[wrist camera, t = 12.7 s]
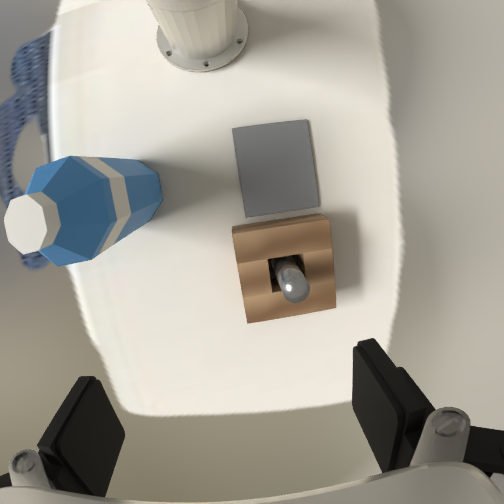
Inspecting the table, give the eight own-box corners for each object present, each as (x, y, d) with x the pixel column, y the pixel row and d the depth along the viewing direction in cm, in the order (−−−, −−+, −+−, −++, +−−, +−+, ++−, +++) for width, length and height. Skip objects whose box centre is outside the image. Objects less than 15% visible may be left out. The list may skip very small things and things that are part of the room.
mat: (232, 129, 40) (232, 128, 40) (306, 119, 41) (306, 119, 40) (245, 217, 43) (245, 217, 43) (318, 206, 44) (319, 206, 43)
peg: (270, 253, 45) (281, 279, 34) (291, 250, 45) (308, 274, 34) (273, 274, 46) (284, 305, 35) (293, 270, 46) (311, 300, 35)
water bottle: (123, 239, 43) (24, 312, 19) (89, 185, 41) (-34, 210, 17) (176, 202, 42) (106, 244, 18) (140, 146, 40) (37, 125, 16)
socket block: (232, 226, 44) (232, 234, 39) (319, 213, 44) (329, 219, 39) (246, 308, 47) (247, 323, 42) (326, 294, 47) (336, 307, 42)
